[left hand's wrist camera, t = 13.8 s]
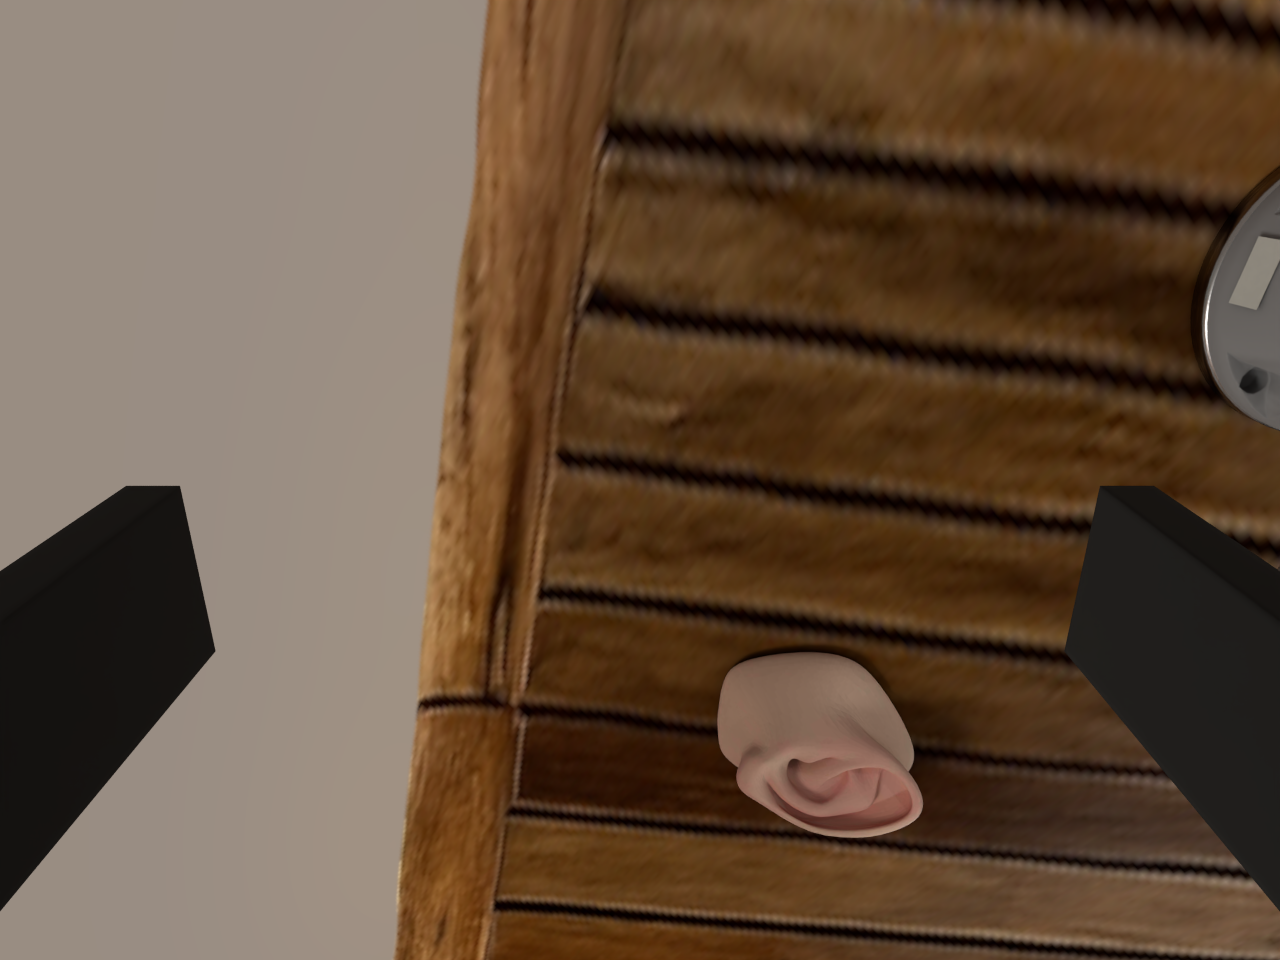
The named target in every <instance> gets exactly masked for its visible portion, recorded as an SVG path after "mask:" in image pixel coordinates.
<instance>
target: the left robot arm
mask: <svg viewBox="0 0 1280 960" xmlns="http://www.w3.org/2000/svg"><path fill="white" fill-rule="evenodd" d="M1191 336H1192V343H1193V348H1194V352H1195V356H1196V360H1197V362H1198V365H1199V367H1200V370H1201V372H1202V374H1203V376H1204V377H1205V379H1206V381H1207V382H1208V384H1209V385H1210V387H1211V388H1212V390H1213V391H1214V392H1215V393H1216V394H1217V395H1218V396H1219V397H1220V398H1221V399H1222V400H1223V401H1224V402H1225V403H1226V404H1227V405H1229V406H1230V407H1231V408H1233V409H1234V410H1236V411H1237V412H1239V413H1240V414H1242V415H1244V416H1246V417H1248V418H1250V419H1252V420H1255V421H1257V422H1259V423H1261V424H1263V425H1266V426H1268V427H1271V428H1273V429H1276V430H1279V431H1280V168H1278V169H1277V170H1276V171H1274V172H1273V173H1272V174H1271V175H1269V176H1268V177H1267V178H1266V179H1264V180H1263V181H1262V182H1261V183H1260V184H1259V185H1258V186H1257V187H1256V188H1254V189H1253V190H1252V191H1251V192H1250V193H1249V194H1248V195H1247V197H1246V198H1245V199H1244V200H1243V201H1242V202H1241V203H1240V204H1239V205H1238V206H1237V208H1236V209H1235V210H1234V211H1233V213H1232V214H1231V215H1230V216H1229V218H1228V219H1227V221H1226V222H1225V224H1224V225H1223V227H1222V228H1221V229H1220V231H1219V232H1218V234H1217V236H1216V238H1215V239H1214V241H1213V243H1212V245H1211V247H1210V249H1209V251H1208V253H1207V255H1206V257H1205V259H1204V262H1203V264H1202V267H1201V270H1200V272H1199V275H1198V279H1197V282H1196V286H1195V290H1194V295H1193V301H1192V308H1191ZM214 652H215V647H214V642H213V637H212V633H211V628H210V623H209V619H208V614H207V609H206V605H205V600H204V596H203V591H202V586H201V582H200V577H199V572H198V568H197V563H196V559H195V554H194V549H193V544H192V540H191V535H190V531H189V526H188V521H187V517H186V512H185V507H184V503H183V498H182V493H181V489H180V486H125V487H124V488H122V489H121V490H120V491H118V492H117V493H115V494H114V495H112V496H111V497H109V498H108V499H106V500H105V501H103V502H102V503H100V504H99V505H97V506H96V507H94V508H93V509H91V510H90V511H88V512H87V513H85V514H84V515H83V516H81V517H80V518H78V519H77V520H75V521H74V522H72V523H71V524H69V525H68V526H66V527H65V528H63V529H62V530H60V531H59V532H57V533H56V534H54V535H53V536H52V537H50V538H49V539H47V540H46V541H44V542H43V543H41V544H40V545H38V546H37V547H35V548H34V549H32V550H31V551H29V552H28V553H26V554H25V555H23V556H22V557H20V558H19V559H18V560H16V561H15V562H13V563H12V564H10V565H9V566H7V567H6V568H4V569H3V570H1V571H0V911H1V910H2V908H3V907H4V906H5V905H6V904H7V902H8V901H9V900H10V899H11V898H12V896H13V895H14V894H15V893H16V891H17V890H18V889H19V888H20V887H21V885H22V884H23V883H24V882H25V881H26V879H27V878H28V877H29V876H30V875H31V873H32V872H33V871H34V870H35V869H36V867H37V866H38V865H39V864H40V862H41V861H42V860H43V859H44V858H45V856H46V855H47V854H48V853H49V852H50V850H51V849H52V848H53V847H54V846H55V844H56V843H57V842H58V841H59V840H60V838H61V837H62V836H63V835H64V833H65V832H66V831H67V830H68V829H69V827H70V826H71V825H72V824H73V823H74V821H75V820H76V819H77V818H78V817H79V815H80V814H81V813H82V812H83V810H84V809H85V808H86V807H87V806H88V805H89V803H90V802H91V801H92V800H93V798H94V797H95V796H96V795H97V794H98V792H99V791H100V790H101V789H102V787H103V786H104V785H105V784H106V783H107V782H108V780H109V779H110V778H111V777H112V775H113V774H114V773H115V772H116V771H117V769H118V768H119V767H120V766H121V765H122V763H123V762H124V761H125V760H126V759H127V757H128V756H129V755H130V754H131V753H132V751H133V750H134V749H135V748H136V747H137V745H138V744H139V743H140V742H141V740H142V739H143V738H144V737H145V736H146V734H147V733H148V732H149V731H150V730H151V728H152V727H153V726H154V725H155V724H156V722H157V721H158V720H159V719H160V717H161V716H162V715H163V714H164V713H165V711H166V710H167V709H168V708H169V707H170V705H171V704H172V703H173V702H174V701H175V699H176V698H177V697H178V696H179V695H180V693H181V692H182V691H183V690H184V689H185V687H186V686H187V685H188V684H189V682H190V681H191V680H192V679H193V678H194V676H195V675H196V674H197V673H198V672H199V670H200V669H201V668H202V667H203V666H204V664H205V663H206V662H207V661H208V660H209V658H210V657H211V656H212V655H213V654H214ZM1065 652H1066V654H1067V655H1068V656H1069V657H1070V658H1071V660H1072V661H1073V662H1074V663H1075V664H1076V666H1077V667H1078V668H1079V669H1080V670H1081V672H1082V673H1083V674H1084V675H1085V676H1086V678H1087V679H1088V680H1089V681H1090V683H1091V684H1092V685H1093V686H1094V687H1095V689H1096V690H1097V691H1098V692H1099V693H1100V695H1101V696H1102V697H1103V698H1104V699H1105V701H1106V702H1107V703H1108V704H1109V705H1110V707H1111V708H1112V709H1113V710H1114V711H1115V713H1116V714H1117V715H1118V716H1119V718H1120V719H1121V720H1122V721H1123V722H1124V724H1125V725H1126V726H1127V727H1128V728H1129V730H1130V731H1131V732H1132V733H1133V734H1134V736H1135V737H1136V738H1137V739H1138V740H1139V742H1140V743H1141V744H1142V745H1143V747H1144V748H1145V749H1146V750H1147V751H1148V753H1149V754H1150V755H1151V756H1152V757H1153V759H1154V760H1155V761H1156V762H1157V763H1158V765H1159V766H1160V767H1161V768H1162V769H1163V771H1164V772H1165V773H1166V774H1167V776H1168V777H1169V778H1170V779H1171V780H1172V782H1173V783H1174V784H1175V785H1176V786H1177V788H1178V789H1179V790H1180V791H1181V792H1182V794H1183V795H1184V796H1185V797H1186V798H1187V800H1188V801H1189V802H1190V803H1191V805H1192V806H1193V807H1194V808H1195V809H1196V811H1197V812H1198V813H1199V814H1200V815H1201V817H1202V818H1203V819H1204V820H1205V821H1206V823H1207V824H1208V825H1209V826H1210V827H1211V829H1212V830H1213V831H1214V832H1215V834H1216V835H1217V836H1218V837H1219V838H1220V840H1221V841H1222V842H1223V843H1224V844H1225V846H1226V847H1227V848H1228V849H1229V850H1230V852H1231V853H1232V854H1233V855H1234V856H1235V858H1236V859H1237V860H1238V861H1239V863H1240V864H1241V865H1242V866H1243V867H1244V869H1245V870H1246V871H1247V872H1248V873H1249V875H1250V876H1251V877H1252V878H1253V879H1254V881H1255V882H1256V883H1257V884H1258V885H1259V887H1260V888H1261V889H1262V890H1263V891H1264V893H1265V894H1266V895H1267V896H1268V898H1269V899H1270V900H1271V901H1272V902H1273V904H1274V905H1275V906H1276V907H1277V908H1278V910H1279V911H1280V567H1279V568H1278V569H1276V568H1274V567H1273V566H1271V565H1270V564H1268V563H1267V562H1265V561H1264V560H1262V559H1261V558H1260V557H1258V556H1257V555H1255V554H1254V553H1252V552H1251V551H1249V550H1248V549H1246V548H1245V547H1243V546H1242V545H1240V544H1239V543H1237V542H1236V541H1234V540H1233V539H1231V538H1230V537H1228V536H1227V535H1226V534H1224V533H1223V532H1221V531H1220V530H1218V529H1217V528H1215V527H1214V526H1212V525H1211V524H1209V523H1208V522H1206V521H1205V520H1203V519H1202V518H1200V517H1199V516H1197V515H1196V514H1195V513H1193V512H1192V511H1190V510H1189V509H1187V508H1186V507H1184V506H1183V505H1181V504H1180V503H1178V502H1177V501H1175V500H1174V499H1172V498H1171V497H1169V496H1168V495H1166V494H1165V493H1163V492H1162V491H1161V490H1159V489H1158V488H1156V487H1155V486H1100V489H1099V493H1098V498H1097V503H1096V507H1095V512H1094V517H1093V521H1092V526H1091V531H1090V535H1089V540H1088V544H1087V549H1086V554H1085V558H1084V563H1083V568H1082V572H1081V577H1080V582H1079V586H1078V591H1077V596H1076V600H1075V605H1074V609H1073V614H1072V619H1071V623H1070V628H1069V633H1068V637H1067V642H1066V647H1065Z"/></svg>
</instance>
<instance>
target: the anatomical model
mask: <svg viewBox="0 0 1280 960" xmlns="http://www.w3.org/2000/svg"><path fill="white" fill-rule="evenodd" d="M717 721H718V738H719V744H720V748H721V750H722V752H723V754H724V755H725V756H726V757H727V759H728V760H730V761H731V762H732V763H733V764H734V765H736V766H737V767H738V770H737V783H738V785H739V787H740V789H741V790H742V791H743V792H744V793H745V794H746V795H748V796H749V797H750V798H752V799H754V800H755V801H757V802H759V803H760V804H762V805H763V806H765V807H767V808H768V809H770V810H771V811H773V812H774V813H776V814H778V815H779V816H781V817H782V818H784V819H786V820H788V821H789V822H791V823H793V824H795V825H797V826H799V827H801V828H803V829H806V830H808V831H811V832H814V833H819V834H823V835H828V836H837V837H870V836H876V835H881V834H885V833H889V832H892V831H895V830H898V829H900V828H902V827H904V826H906V825H908V824H910V823H912V822H913V821H914V820H916V819H917V818H918V816H919V815H920V813H921V811H922V807H923V801H922V796H921V793H920V790H919V788H918V786H917V784H916V782H915V781H914V779H913V778H912V776H911V775H910V773H909V772H908V771H909V770H910V768H911V766H912V764H913V760H914V750H913V745H912V742H911V739H910V736H909V734H908V732H907V730H906V728H905V725H904V723H903V721H902V719H901V718H900V716H899V714H898V712H897V711H896V709H895V707H894V706H893V704H892V702H891V701H890V699H889V698H888V696H887V695H886V693H885V692H884V690H883V689H882V688H881V686H880V685H879V684H878V682H877V681H876V680H875V679H874V678H873V677H872V675H871V674H870V673H869V672H868V671H867V670H866V669H864V668H863V667H862V666H861V665H859V664H858V663H856V662H855V661H852V660H850V659H848V658H845V657H842V656H839V655H834V654H829V653H818V652H796V653H783V654H776V655H768V656H763V657H758V658H753V659H750V660H746V661H744V662H742V663H739V664H738V665H736V666H735V667H733V668H732V669H731V670H730V671H729V672H728V674H727V675H726V677H725V680H724V682H723V686H722V690H721V695H720V702H719V709H718V720H717Z"/></svg>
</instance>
